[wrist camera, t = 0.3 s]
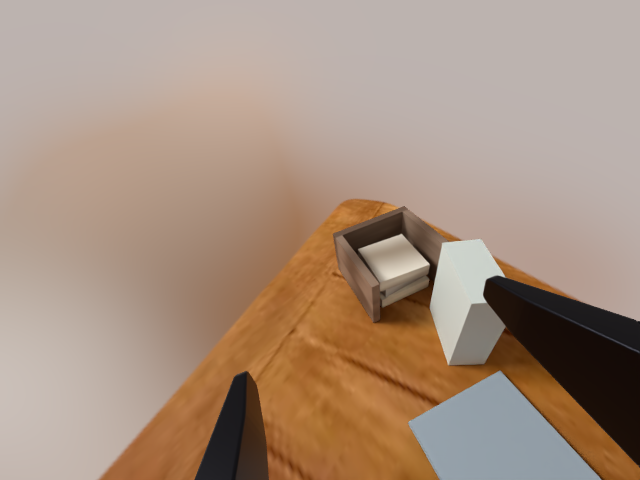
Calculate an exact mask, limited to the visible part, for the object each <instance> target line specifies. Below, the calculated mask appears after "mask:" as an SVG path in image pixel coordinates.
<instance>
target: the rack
mask: <svg viewBox="0 0 640 480" xmlns="http://www.w3.org/2000/svg"><path fill="white" fill-rule="evenodd" d="M400 234H402V235H403V236H404V237H405V238H406V239H407V240H408V241H409V242H410V244H411V245H412V246H413V247H414V248H415V249H416V250H417V251H418V252H419V253H420V254H421V255H422V256H423V258H424V259H425V260H426V261H427V262H428V263H429V264H430V266H429V272H428V274H427V275H428V276H429V277H430V278H431V279H432V280H433V281H434V282H435V278H436V273H437V268H438V263H439V258H440V253H441V248H442V243H445V242H449V241H448V240H446V239H445V238H444V237H443V236H441V235H440V234H439V233H438V232H436V231H435V230H434V229H433V228H431V227H430V226H429V225H427V224H426V223H425V222H424V221H422V220H421V219H420V218H419V217H417V216H416V215H415V214H414V213H412V212H411V211H410V210H408V209H407V208H406V207H405V206H404V207H401V208H398V209H396V210H393V211H391V212H388V213H385V214H383V215H380V216H378V217H375V218H373V219H370V220H367V221H365V222H362V223H360V224H357V225H354V226H352V227H349V228H347V229H344V230H342V231H339V232H336V233H334V234H333V237H334V243H335V249H336V255H337V261H338V267H339V270H340V271H341V273H342V275H343V276H344V278H345V279H346V281H347V282H348V284H349V285H350V287H351V289H352V290H353V292H354V293H355V295H356V296H357V298H358V299H359V301H360V302H361V304H362V306H363V307H364V309H365V310H366V312H367V313H368V315H369V316H370V318H371V320H372V321H373V323H374V322H376V321H378V320H380V284H379V283H378V281H377V280H376V279H375V277H374V276H373V275H372V274H371V272H370V271H369V270H368V268H367V267H366V266H365V264H364V263H363V262H362V260H361V259H360V258H359V256H358V249H360V248H363V247H366V246H368V245H371V244H374V243H377V242H380V241H383V240H386V239H389V238H392V237H395V236H397V235H400Z"/></svg>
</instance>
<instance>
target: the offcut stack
mask: <svg viewBox="0 0 640 480" xmlns="http://www.w3.org/2000/svg"><path fill="white" fill-rule="evenodd" d="M358 256H359V258H360V259H361V260H362V262H363V263H364V264H365V266H366V267H367V268H368V270H369V271H370V272H371V274H372V275H373V276H374V277H375V279H376V280H377V281H378V283H379V284H380V305H381V307H382V308H383V307H385V306H387V305H389V304H391V303H394V302H396V301H398V300H400V299H402V298H404V297H407V296H409V295H411V294H413V293H415V292H417V291H420V290H422V289H424V288H426V287H428V284H429V278H428V277H427V276H426V275H427V274H428V272H429V266H430V264H429V263H428V262H427V261H426V260H425V259H424V258H423V256H422V255H421V254H420V253H419V252H418V251H417V250H416V249H415V248H414V247H413V246H412V245H411V244H410V242H409V241H408V240H407V239H406V238H405V237H404V236H403V235H402V234H400V235H397V236H395V237H392V238H389V239H386V240H383V241H380V242H377V243H374V244H371V245H368V246H366V247H363V248H360V249H358Z"/></svg>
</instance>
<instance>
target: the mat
mask: <svg viewBox="0 0 640 480" xmlns="http://www.w3.org/2000/svg"><path fill="white" fill-rule="evenodd" d="M408 424H409V426H410V428H411V430H412V431H413V433H414V435H415V437H416V438H417V440H418V442H419V444H420V446H421V447H422V449H423V451H424V453H425V454H426V456H427V458H428V460H429V461H430V463H431V465H432V467H433V469H434V470H435V472H436V474H437V476H438V477H439V479H440V480H601V479H600V478H599V476H598V475H597V474H596V473H595V472H594V471H593V470H592V469H591V468H590V467H589V466H588V465H587V464H586V463H585V461H584V460H583V459H582V458H581V457H580V456H579V455H578V454H577V453H576V452H575V451H574V450H573V449H572V447H571V446H570V445H569V444H568V443H567V442H566V441H565V440H564V439H563V438H562V437H561V436H560V435H559V433H558V432H557V431H556V430H555V429H554V428H553V427H552V426H551V425H550V424H549V423H548V422H547V421H546V420H545V418H544V417H543V416H542V415H541V414H540V413H539V412H538V411H537V410H536V409H535V408H534V407H533V406H532V404H531V403H530V402H529V401H528V400H527V399H526V398H525V397H524V396H523V395H522V394H521V393H520V392H519V390H518V389H517V388H516V387H515V386H514V385H513V384H512V383H511V382H510V381H509V380H508V379H507V378H506V376H505V375H504V374H503V373H502V372H501V371H498V372H496V373H495V374H493V375H491V376H489V377H487V378H486V379H484V380H482V381H480V382H479V383H477V384H475V385H473V386H471V387H470V388H468V389H466V390H464V391H463V392H461V393H459V394H457V395H455V396H454V397H452V398H450V399H448V400H447V401H445V402H443V403H441V404H439V405H438V406H436V407H434V408H432V409H431V410H429V411H427V412H425V413H423V414H422V415H420V416H418V417H416V418H415V419H413V420H411V421H409V422H408Z"/></svg>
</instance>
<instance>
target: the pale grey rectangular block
mask: <svg viewBox="0 0 640 480" xmlns="http://www.w3.org/2000/svg"><path fill="white" fill-rule="evenodd" d="M496 275H498V276H502V277H505V276H504V274H503V272H502V271H501V269H500V268H499V266H498V265H497V263H496V262H495V260H494V259H493V257H492V256H491V254H490V252H489V251H488V249H487V248H486V246H485V245H484V243H483V242H482V240H481V239H477V240H466V241H456V242H445V243H442V248H441V253H440V258H439V263H438V268H437V273H436V278H435V283H434V288H433V293H432V298H431V303H430V311H431V314H432V317H433V320H434V323H435V326H436V329H437V332H438V335H439V338H440V341H441V344H442V347H443V350H444V353H445V356H446V359H447V363H448V365H471V364H484V363H485V362H486V360H487V358H488V356H489V355H490V353H491V351H492V349H493V348H494V346H495V344H496V342H497V341H498V339H499V337H500V336H501V334H502V332H503V330H504V329H505V327H506V326H505V325H504V323H503V322H502V321H501V320H500V318H499V317H498V316H497V315H496V313H495V312H494V311H493V310H492V308H491V307H490V306H489V305H488V303H487V302H486V301H485V299H484V297H483V291H484V286H485V281H486V279H488V278H490V277H493V276H496ZM505 278H506V277H505Z"/></svg>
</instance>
